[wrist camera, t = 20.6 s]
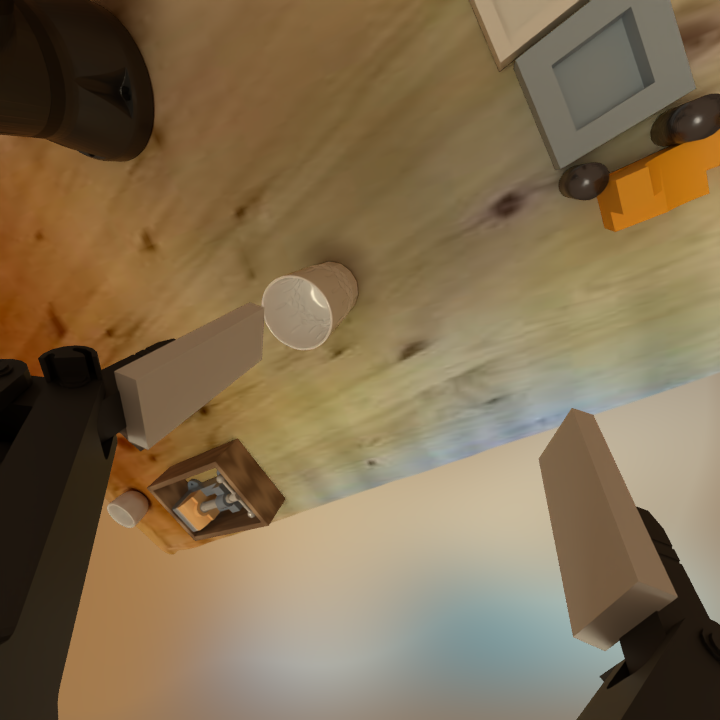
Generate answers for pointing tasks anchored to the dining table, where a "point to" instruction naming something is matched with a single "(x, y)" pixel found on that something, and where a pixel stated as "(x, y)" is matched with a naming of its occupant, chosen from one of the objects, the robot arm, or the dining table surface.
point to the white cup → (309, 304)
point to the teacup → (128, 508)
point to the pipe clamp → (658, 182)
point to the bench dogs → (667, 130)
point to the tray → (519, 23)
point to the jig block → (603, 74)
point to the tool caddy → (238, 474)
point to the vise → (208, 502)
